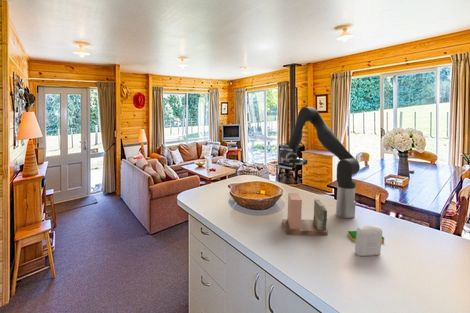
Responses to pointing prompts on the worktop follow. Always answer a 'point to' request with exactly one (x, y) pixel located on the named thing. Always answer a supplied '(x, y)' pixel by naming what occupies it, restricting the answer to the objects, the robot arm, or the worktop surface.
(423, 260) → the worktop surface
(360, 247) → the photo printer
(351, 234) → the dish sponge
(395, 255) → the worktop surface
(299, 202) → the terracotta book
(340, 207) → the robot arm
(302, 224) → the shelf ledge
